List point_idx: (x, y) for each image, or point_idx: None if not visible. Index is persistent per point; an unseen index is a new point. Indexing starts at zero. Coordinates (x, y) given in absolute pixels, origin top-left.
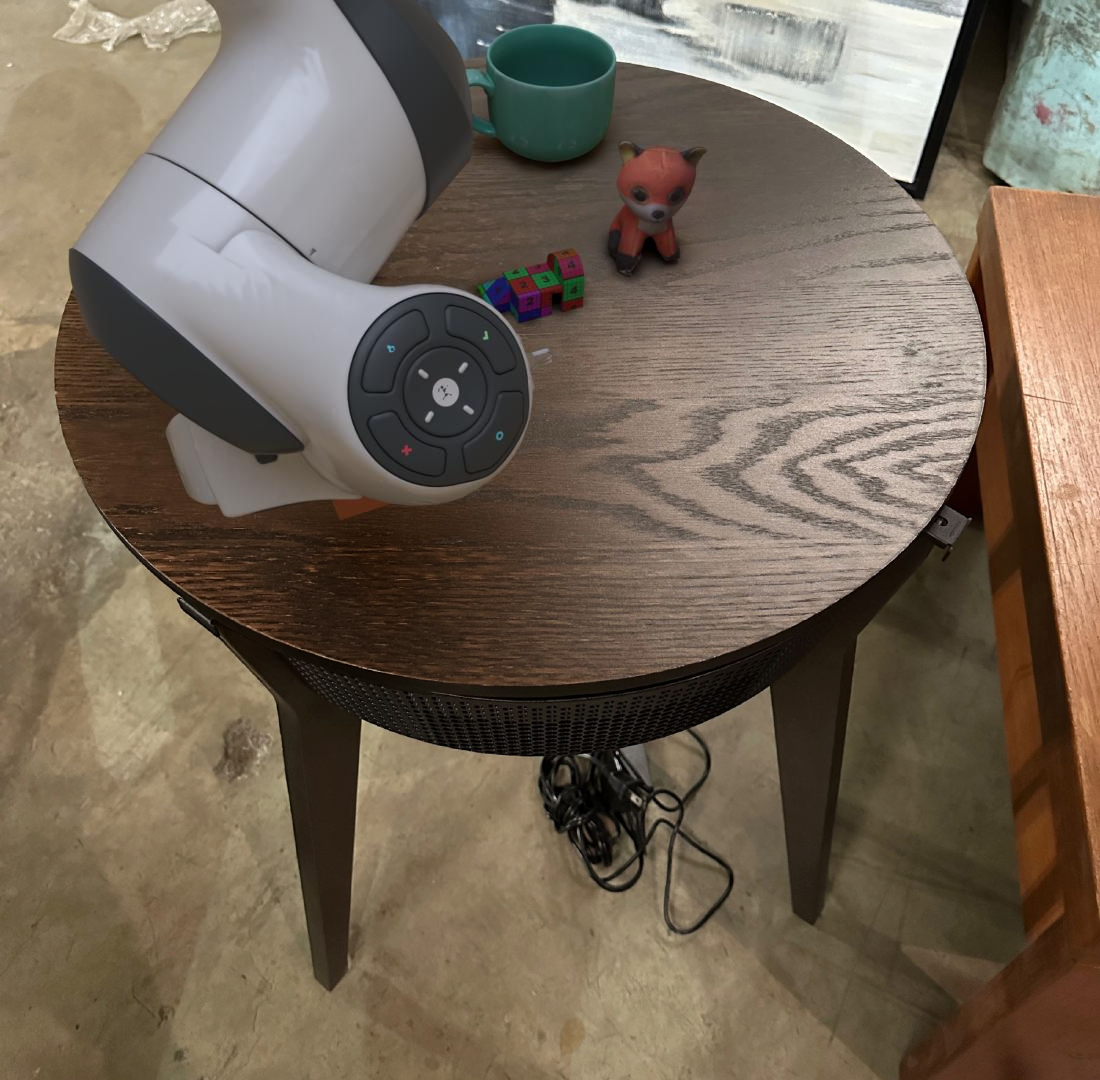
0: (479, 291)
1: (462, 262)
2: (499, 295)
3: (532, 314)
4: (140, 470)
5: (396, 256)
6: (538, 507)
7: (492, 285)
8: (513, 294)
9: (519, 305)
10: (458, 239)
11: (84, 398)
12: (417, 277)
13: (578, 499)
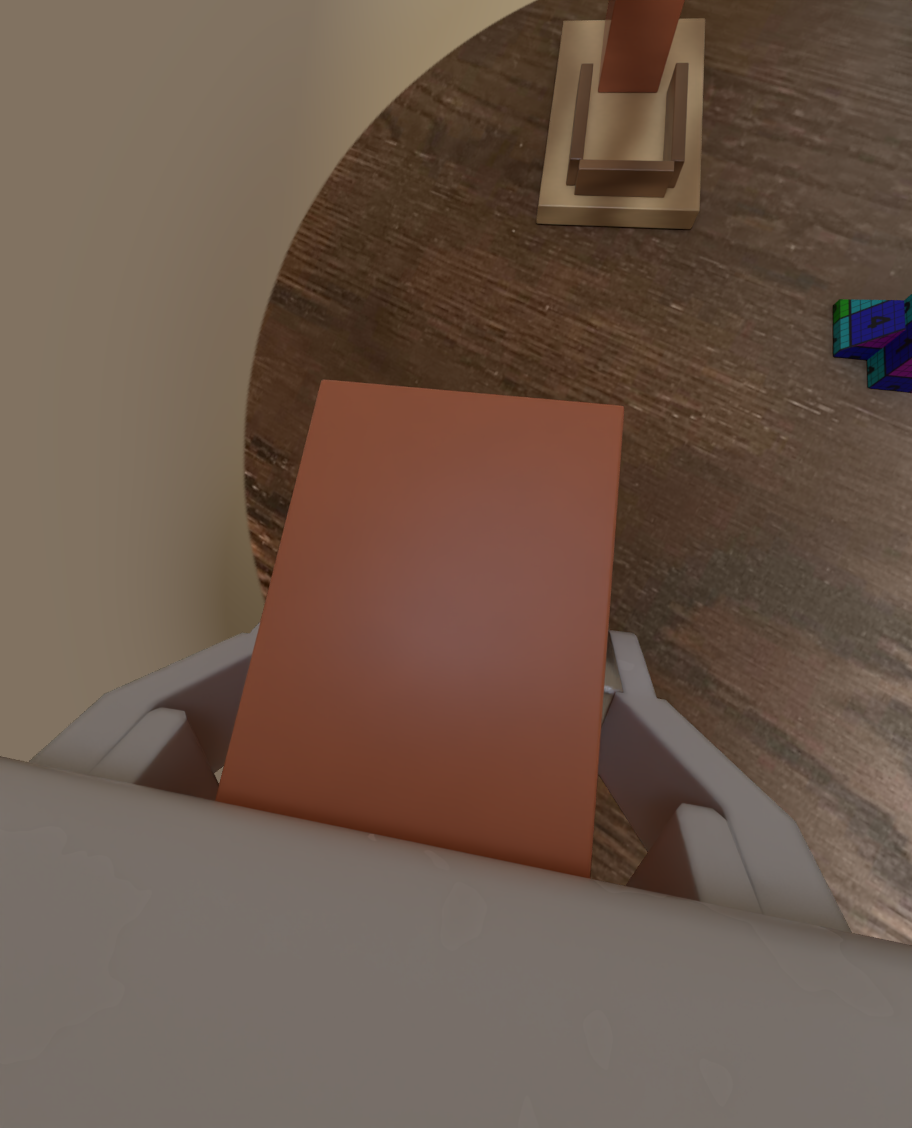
0: (837, 309)
1: (833, 249)
2: (874, 331)
3: (903, 384)
4: (297, 400)
5: (743, 207)
6: (735, 729)
7: (871, 308)
8: (907, 340)
9: (903, 364)
10: (847, 208)
11: (294, 276)
12: (755, 251)
13: (804, 752)
